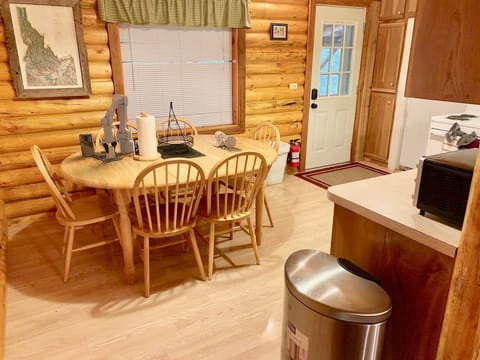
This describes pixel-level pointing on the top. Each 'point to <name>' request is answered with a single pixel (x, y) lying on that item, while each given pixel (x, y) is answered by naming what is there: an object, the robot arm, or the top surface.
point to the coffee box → (87, 144)
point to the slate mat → (111, 159)
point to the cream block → (111, 152)
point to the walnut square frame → (101, 154)
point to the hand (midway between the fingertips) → (110, 152)
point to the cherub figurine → (224, 140)
